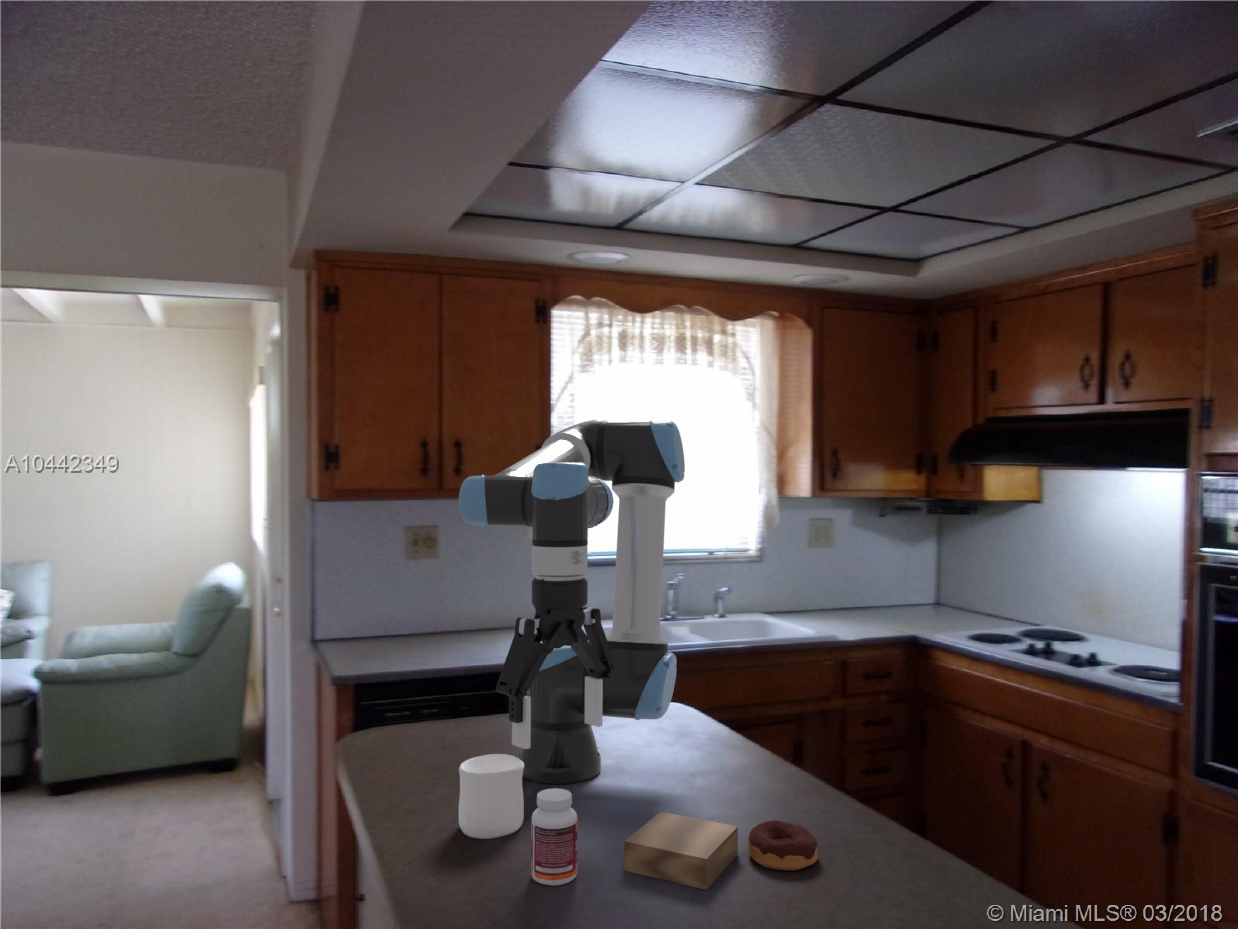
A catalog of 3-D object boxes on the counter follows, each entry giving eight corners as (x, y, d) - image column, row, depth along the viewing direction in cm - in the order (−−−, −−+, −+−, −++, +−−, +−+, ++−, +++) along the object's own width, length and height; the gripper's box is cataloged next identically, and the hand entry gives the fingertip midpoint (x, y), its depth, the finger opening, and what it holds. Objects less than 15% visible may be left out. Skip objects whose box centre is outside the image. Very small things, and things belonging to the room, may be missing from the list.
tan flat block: (624, 870, 123) (624, 841, 123) (660, 838, 134) (660, 811, 134) (706, 890, 117) (706, 859, 117) (737, 854, 128) (737, 826, 128)
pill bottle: (586, 879, 120) (586, 797, 120) (545, 891, 117) (545, 806, 117) (562, 862, 125) (563, 783, 125) (522, 873, 122) (523, 791, 122)
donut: (803, 881, 120) (803, 851, 120) (735, 864, 126) (735, 835, 126) (828, 854, 129) (828, 826, 129) (764, 839, 134) (764, 812, 134)
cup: (533, 819, 141) (533, 757, 141) (504, 844, 131) (505, 777, 131) (479, 811, 144) (479, 750, 144) (447, 835, 134) (447, 770, 134)
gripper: (508, 588, 110) (507, 763, 109) (640, 571, 128) (640, 721, 128) (468, 582, 115) (467, 750, 114) (602, 567, 133) (601, 711, 133)
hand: (558, 735), depth 121 cm, fingers open, 13 cm apart
